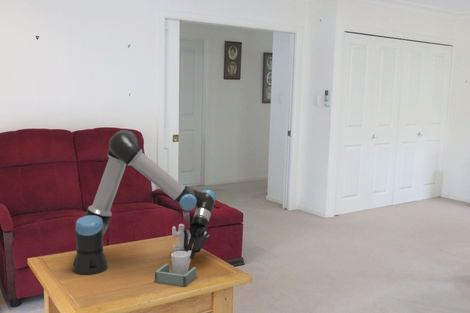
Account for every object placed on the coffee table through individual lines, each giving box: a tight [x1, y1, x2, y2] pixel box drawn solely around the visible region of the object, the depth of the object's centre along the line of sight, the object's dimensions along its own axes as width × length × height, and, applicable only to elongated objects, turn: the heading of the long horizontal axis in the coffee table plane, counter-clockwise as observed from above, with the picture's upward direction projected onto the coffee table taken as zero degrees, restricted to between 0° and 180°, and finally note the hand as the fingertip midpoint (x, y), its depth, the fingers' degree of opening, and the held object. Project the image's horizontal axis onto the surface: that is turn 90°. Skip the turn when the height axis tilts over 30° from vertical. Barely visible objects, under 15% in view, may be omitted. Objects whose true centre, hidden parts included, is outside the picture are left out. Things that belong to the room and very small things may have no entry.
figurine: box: [171, 223, 191, 252], centre depth 239 cm, size 7×9×15 cm
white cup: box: [170, 251, 190, 275], centre depth 210 cm, size 8×8×10 cm
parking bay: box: [154, 262, 197, 288], centre depth 206 cm, size 14×11×4 cm
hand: (186, 264), depth 214 cm, fingers closed
